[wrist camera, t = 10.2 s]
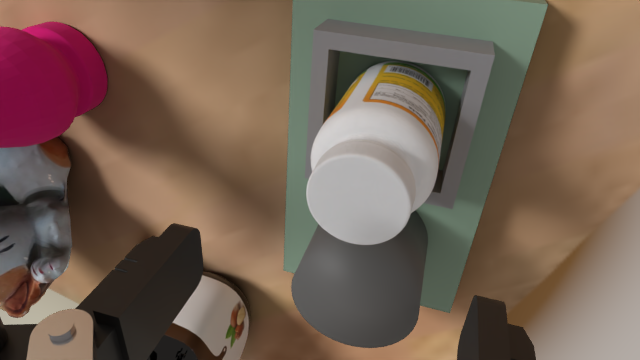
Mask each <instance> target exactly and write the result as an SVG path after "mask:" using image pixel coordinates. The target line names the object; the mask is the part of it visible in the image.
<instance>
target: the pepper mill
mask: <svg viewBox="0 0 640 360" xmlns="http://www.w3.org/2000/svg"><path fill="white" fill-rule="evenodd" d="M106 92H107V74H106V70H105V66H104V63H103V61H102V59H101V57H100V55H99V53H98V52H97V50H96V49H95V47H94V46H93V44H92V43H91V42H90V41H89V40H88V39H87V38H86V37H85V36H84V35H83V34H82V33H81V32H79V31H77V30H75V29H74V28H72V27H70V26H68V25H66V24H63V23H59V22H46V23H42V24H38V25H34V26H31V27H27V28H25V29H23V30H19V29H15V28H10V27H0V148H10V147H26V146H31V145H35V144H40V143H43V142H46V141H48V140H50V139H53V138H55V137H57V136H59V135H61V134H62V133H64V132H65V131H66V130H67V129H68V128H69V127H70V125H71V123H72V122H73V120H74V118H75V117H77V116H80V115H82V114H84V113H85V112H87V111H89V110H91V109H93V108H95V107H96V106H98V105H99V104H100V103H101V102H102V101H103V99H104V97H105V95H106Z"/></svg>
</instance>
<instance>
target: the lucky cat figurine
mask: <svg viewBox="0 0 640 360" xmlns="http://www.w3.org/2000/svg"><path fill="white" fill-rule="evenodd" d="M70 168H71V159H70V155H69V151H68V148H67V146H66V145H65V144H64V143H63V142H62V141H61V139H60V138H59V137H55V138H53V139H50V140H48V141H46V142H43V143H40V144H35V145H31V146H26V147H10V148H0V309H2V310H4V311H6V312H7V313H8V315H9V316H11V317H15V318H18V317H23V316H24V315H25V314H27V313H28V312H29V309H30V307H31V306H32V305H34V304H35V303H37V302H38V301H39V300H40V299H41V297H42V296H43V295H44V294H45V292H46V290H47V289H48V287H49V286H50V285H51V283H52V282H53V281H54V280H55V279H56V278H57V277H59V276H60V275H61V274H62V273H63V272H64V271H65V270H66V269H67V268H68V264H69V259H70V253H71V248H72V237H71V225H70V223H71V220H70V215H69V204H68V197H67V177H68V174H69V171H70Z"/></svg>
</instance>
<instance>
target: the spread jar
mask: <svg viewBox="0 0 640 360" xmlns="http://www.w3.org/2000/svg"><path fill="white" fill-rule="evenodd" d="M137 245H138V244H137ZM250 316H251V314H250V307H249V303H248V301H247V299H246V297H245V295H244V294H243V293H242V291H241V290H240V289H239V288H238V287H237V286H236V285H234V284H233V283H232V282H230V281H229V280H227V279H225V278H223V277H221V276H219V275H217V274H214V273H210V272H206V271H203V274H202V278H201V281H200V283H199V285H198V287H197V288H196V290H195V291H194V292H193V294H192V295H191V297H190V298H189V300H188V301H187V302H186V304H185V305H184V307H183V308H182V310H181V311H180V313H179V314H178V315H177V317H176V318H175V320H174V321H173V323H172V324H171V325H170V327H169V328H168V330H167V331H166V333H165V334H164V336H163V337H162V338H161V340H160V341H159V343H158V344H157V346H156V347H155V348H154V350H153V351H152V353H151V354H150V356H149V357H148V359H147V360H240V358H241V355H242V353H243V350H244V347H245V344H246V341H247V336H248V332H249V327H250Z"/></svg>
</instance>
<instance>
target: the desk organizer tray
mask: <svg viewBox="0 0 640 360" xmlns="http://www.w3.org/2000/svg"><path fill="white" fill-rule="evenodd" d="M547 7H548V4H547V3H546V1H545V0H293V12H292V41H291V70H290V98H289V127H288V156H287V185H286V214H285V243H284V271H288V272H292V273H295V274H294V276H293V280H292V286H291V287H292V296H293V300H294V303H295V305H296V307H297V309H298V311H299V312H300V314H301V315H302V316H303V317H304V319H305V320H306V321H307V322H308V323H309V324H310V325H311V326H312V327H314V328H315V329H316V330H317V331H319V332H320V333H322V334H324V335H325V336H327V337H329V338H331V339H333V340H335V341H338V342H340V343H343V344H347V345H351V346H356V347H363V348H377V347H384V346H388V345H392V344H394V343H397V342H399V341H400V340H402V339H404V338H405V337H406V336H407V335H409V334H410V332H411V331H412V330H413V329H414V327H415V325H416V323H417V320H418V315H419V308H420V306H424V307H428V308H432V309H436V310H440V311H444V312H448V313H450V311H451V308H452V305H453V301H454V298H455V295H456V292H457V289H458V286H459V283H460V279H461V276H462V273H463V270H464V267H465V264H466V261H467V258H468V254H469V251H470V248H471V245H472V242H473V239H474V236H475V232H476V229H477V226H478V223H479V220H480V217H481V214H482V210H483V207H484V204H485V201H486V198H487V195H488V192H489V189H490V185H491V182H492V179H493V176H494V173H495V170H496V167H497V163H498V160H499V157H500V154H501V151H502V148H503V145H504V141H505V138H506V135H507V132H508V129H509V126H510V123H511V120H512V116H513V113H514V110H515V107H516V104H517V101H518V98H519V94H520V91H521V88H522V85H523V82H524V79H525V76H526V72H527V69H528V66H529V63H530V60H531V57H532V54H533V51H534V47H535V44H536V41H537V38H538V35H539V32H540V29H541V25H542V22H543V19H544V16H545V13H546V10H547ZM386 61H403V62H408V63H411V64H414V65H416V66H418V67H420V68H422V69H424V70H425V71H426V72H428V73H429V74H430V75H431V76H432V77H433V78H434V79H435V80H436V82H437V83H438V84H439V86H440V88H441V90H442V92H443V95H444V99H445V105H446V117H445V124H444V131H443V138H442V145H441V152H440V159H439V167H438V173H437V178H436V182H435V185H434V188H433V190H432V192H431V194H430V195H429V197H428V198H427V200H426V201H425V202H424V203H423V204H422V205H421V206H420V207H419V208H418V209H416V210H415V211H414V212H412V213H411V215H410V218H409V220H408V222H407V224H406V226H405V227H404V228H403V229H402V231H401V232H400V233H399V234H397V235H396V236H395V237H393V238H392V239H390V240H388V241H385V242H382V243H379V244H374V245H358V244H352V243H348V242H345V241H343V240H340V239H338V238H336V237H334V236H332V235H331V234H329V233H328V232H327V231H325V230H324V229H323V228H322V227H321V226H320V225H319V224H318V223H317V222H316V220H315V219H314V217H313V216H312V214H311V212H310V210H309V207H308V203H307V197H306V189H307V183H308V180H309V177H310V175H311V173H312V168H311V151H312V146H313V143H314V140H315V138H316V136H317V134H318V132H319V130H320V128H321V127H322V125H323V124H324V122H325V121H326V120H327V118H328V117H329V116H330V114H331V113H332V111H333V110H334V109H335V107H336V106H337V105H338V103H339V102H340V100H341V99H342V98H343V96H344V95H345V93H346V92H347V90H348V89H349V87H350V86H351V84H352V83H353V82H354V81H355V79H356V78H357V77H358V76H359V75H360V74H361V73H362V72H364V71H365V70H366V69H368V68H369V67H371V66H373V65H376V64H378V63H382V62H386Z"/></svg>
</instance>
